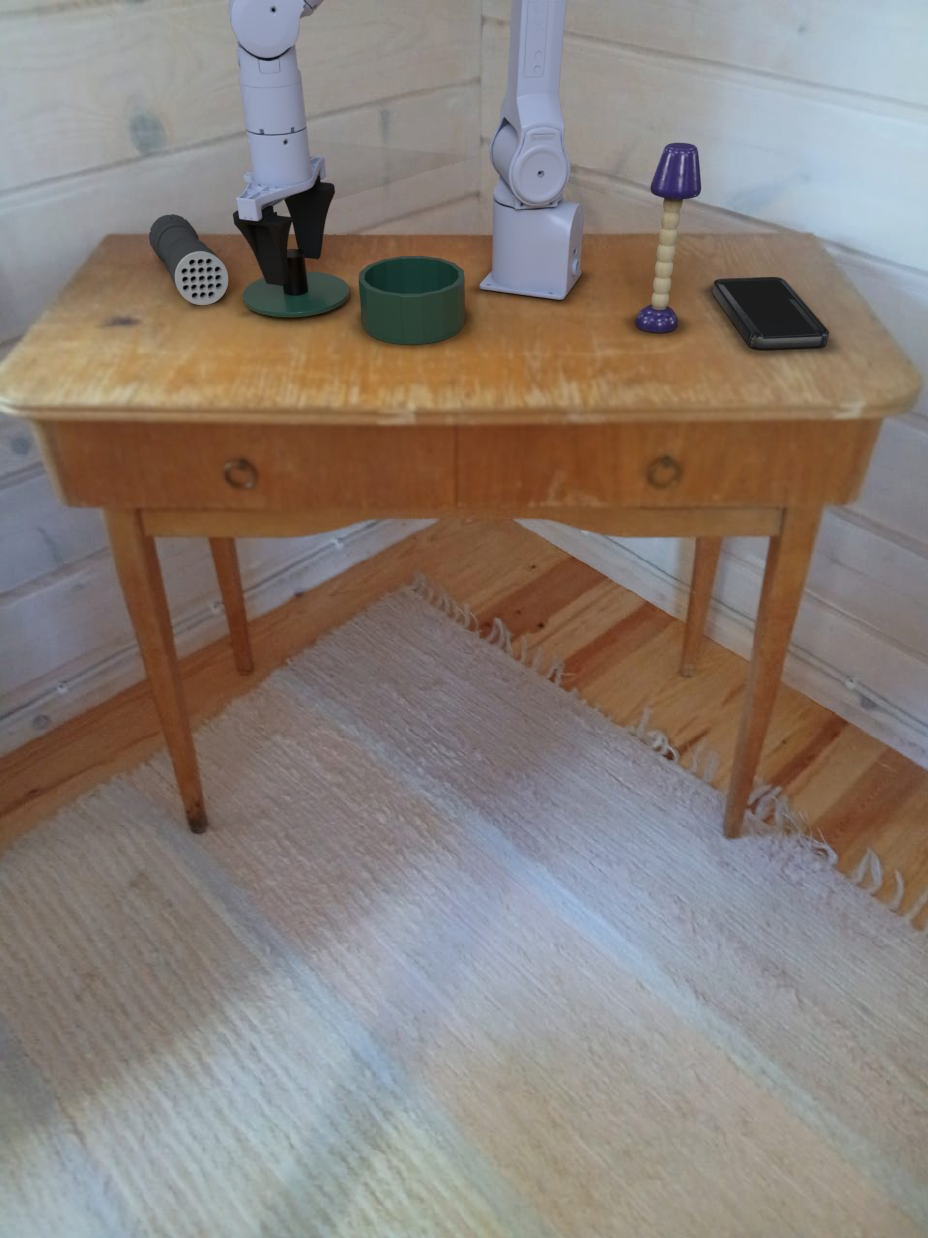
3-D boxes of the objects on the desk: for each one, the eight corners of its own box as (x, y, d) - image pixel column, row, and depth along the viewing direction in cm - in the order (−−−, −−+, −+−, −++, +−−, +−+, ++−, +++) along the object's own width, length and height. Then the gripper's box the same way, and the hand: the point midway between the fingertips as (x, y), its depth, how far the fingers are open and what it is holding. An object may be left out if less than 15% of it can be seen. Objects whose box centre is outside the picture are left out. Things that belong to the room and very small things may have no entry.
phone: (753, 339, 91) (711, 278, 102) (751, 350, 92) (709, 288, 103) (834, 335, 91) (783, 275, 103) (831, 346, 92) (781, 286, 103)
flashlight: (151, 261, 110) (140, 212, 107) (197, 253, 112) (188, 205, 109) (181, 309, 100) (170, 257, 96) (232, 299, 102) (223, 248, 98)
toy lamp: (629, 314, 98) (649, 139, 87) (673, 312, 99) (699, 137, 88) (640, 334, 95) (663, 154, 84) (686, 332, 95) (714, 152, 84)
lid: (367, 288, 104) (363, 240, 101) (321, 329, 96) (315, 279, 93) (275, 275, 107) (269, 228, 103) (224, 314, 99) (215, 265, 96)
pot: (478, 309, 99) (478, 262, 96) (443, 351, 92) (442, 301, 89) (387, 296, 102) (384, 250, 99) (345, 335, 95) (341, 287, 92)
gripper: (275, 106, 97) (292, 242, 105) (198, 143, 86) (224, 290, 95) (338, 111, 95) (350, 249, 104) (267, 150, 84) (287, 300, 93)
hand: (294, 270), depth 99 cm, fingers open, 7 cm apart
